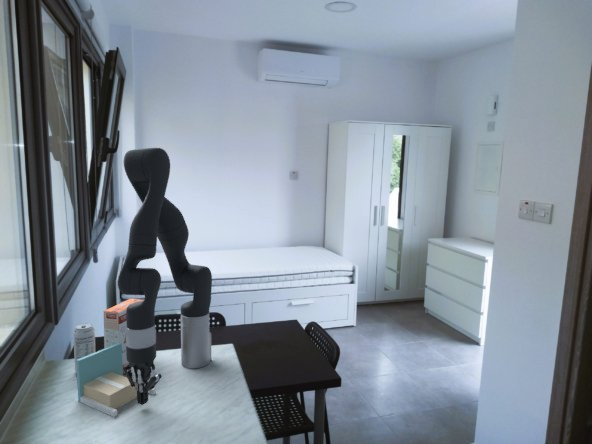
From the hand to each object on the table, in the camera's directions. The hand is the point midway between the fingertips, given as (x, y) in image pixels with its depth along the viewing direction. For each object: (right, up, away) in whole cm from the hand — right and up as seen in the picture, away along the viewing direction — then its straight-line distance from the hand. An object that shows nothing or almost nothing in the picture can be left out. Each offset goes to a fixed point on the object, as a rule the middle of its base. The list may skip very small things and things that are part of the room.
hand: (142, 402), depth 117 cm
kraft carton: (-11, -1, +5) cm, 12 cm away
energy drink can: (-25, +1, +20) cm, 32 cm away
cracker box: (-14, +2, +24) cm, 28 cm away
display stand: (-9, -1, +5) cm, 10 cm away
